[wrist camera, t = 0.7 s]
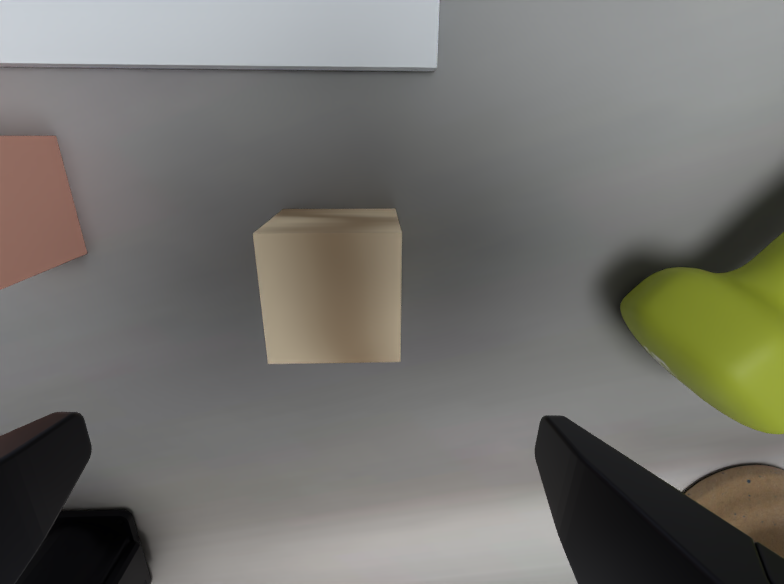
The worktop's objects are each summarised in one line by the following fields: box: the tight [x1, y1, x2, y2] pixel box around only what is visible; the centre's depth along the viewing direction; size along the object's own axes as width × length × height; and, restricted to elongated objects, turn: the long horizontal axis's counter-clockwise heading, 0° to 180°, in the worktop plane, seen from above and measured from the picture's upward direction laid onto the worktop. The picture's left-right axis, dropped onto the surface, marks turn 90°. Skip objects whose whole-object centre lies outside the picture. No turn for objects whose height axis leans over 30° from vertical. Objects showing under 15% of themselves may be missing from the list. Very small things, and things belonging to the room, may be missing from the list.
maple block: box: [253, 209, 402, 364], centre depth 17 cm, size 5×5×5 cm
